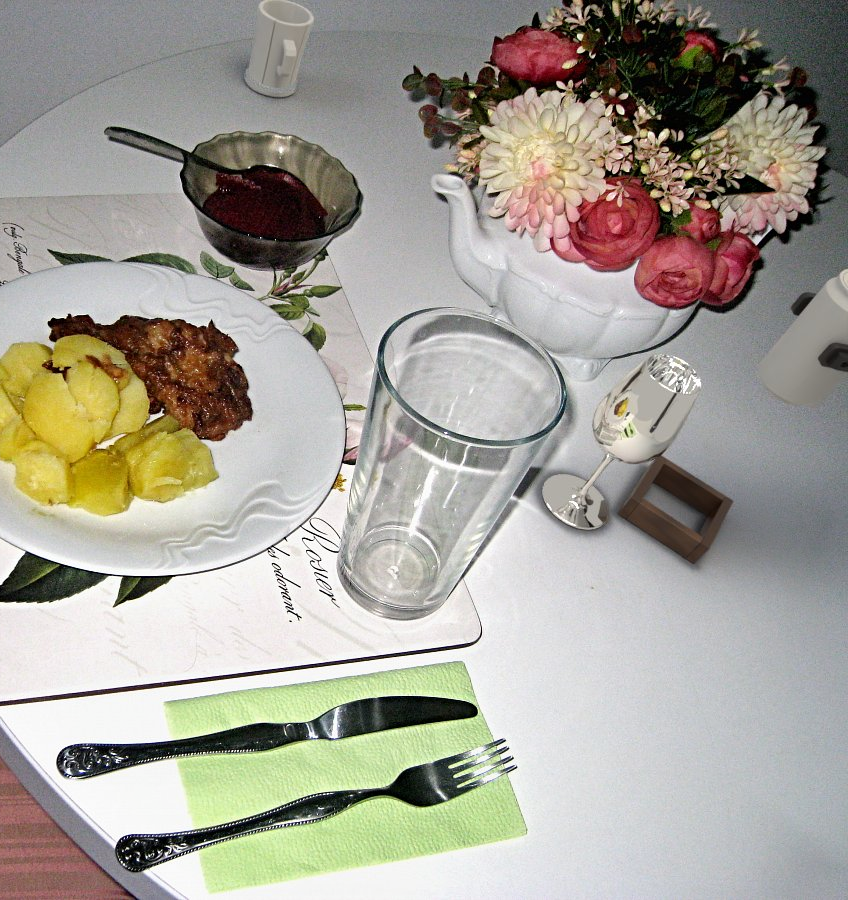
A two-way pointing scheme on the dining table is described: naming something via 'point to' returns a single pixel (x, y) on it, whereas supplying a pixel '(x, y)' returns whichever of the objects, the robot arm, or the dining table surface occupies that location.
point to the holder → (667, 526)
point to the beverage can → (809, 349)
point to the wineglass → (628, 433)
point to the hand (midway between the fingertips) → (811, 327)
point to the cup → (278, 44)
